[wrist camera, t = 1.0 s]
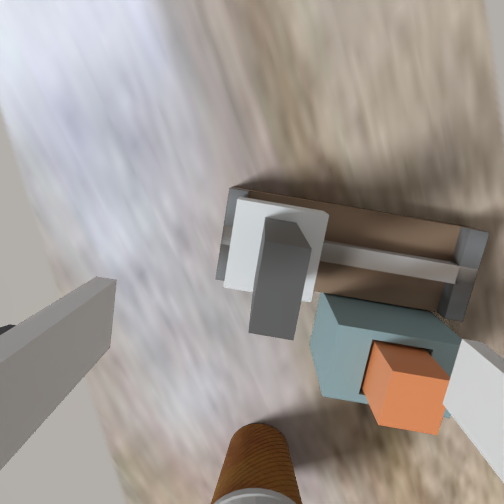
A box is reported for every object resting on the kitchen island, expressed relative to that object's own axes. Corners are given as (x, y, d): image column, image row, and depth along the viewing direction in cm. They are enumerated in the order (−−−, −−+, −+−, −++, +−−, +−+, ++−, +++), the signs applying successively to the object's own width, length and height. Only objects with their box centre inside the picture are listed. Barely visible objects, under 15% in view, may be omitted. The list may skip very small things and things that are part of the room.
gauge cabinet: (321, 288, 37) (338, 324, 28) (429, 306, 37) (479, 348, 28) (308, 347, 39) (321, 399, 30) (412, 365, 39) (456, 422, 30)
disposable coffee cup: (259, 392, 40) (256, 484, 28) (321, 451, 41) (343, 563, 29) (196, 446, 41) (168, 555, 30) (257, 501, 43) (254, 627, 31)
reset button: (365, 327, 32) (392, 370, 25) (413, 335, 32) (453, 381, 25) (354, 371, 32) (378, 425, 26) (401, 379, 32) (437, 434, 26)
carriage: (239, 196, 32) (222, 213, 19) (323, 210, 32) (361, 237, 19) (227, 276, 33) (203, 342, 21) (307, 290, 33) (332, 364, 21)
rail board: (232, 186, 36) (229, 188, 32) (467, 226, 36) (489, 232, 32) (220, 269, 37) (215, 279, 34) (444, 307, 37) (462, 321, 34)
